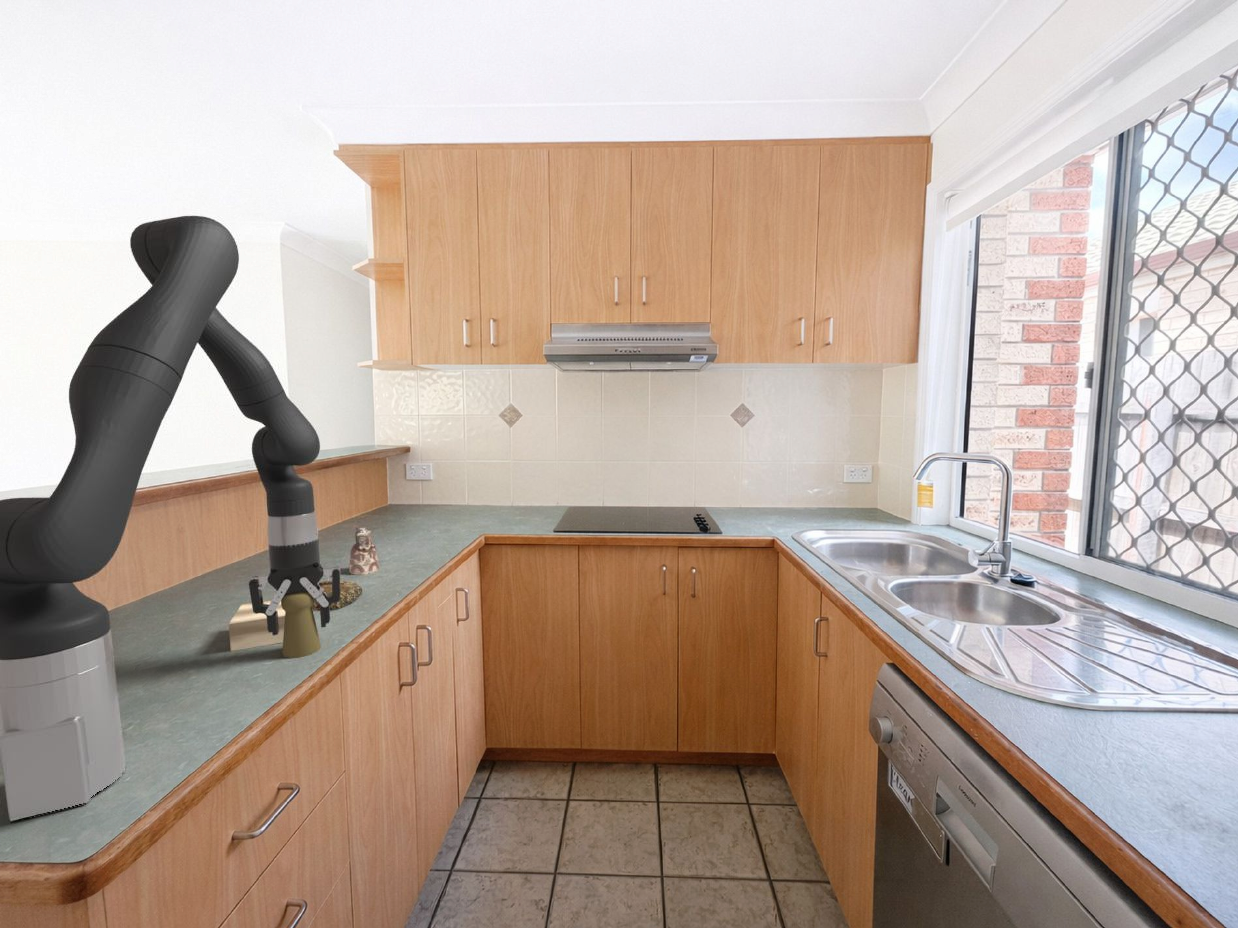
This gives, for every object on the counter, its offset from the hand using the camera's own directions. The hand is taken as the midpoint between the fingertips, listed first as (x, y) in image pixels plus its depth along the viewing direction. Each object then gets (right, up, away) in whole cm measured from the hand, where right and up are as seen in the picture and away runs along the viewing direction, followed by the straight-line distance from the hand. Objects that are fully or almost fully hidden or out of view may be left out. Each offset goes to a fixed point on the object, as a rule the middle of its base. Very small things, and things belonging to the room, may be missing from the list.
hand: (300, 629), depth 94 cm
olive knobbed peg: (0, -4, 0) cm, 4 cm away
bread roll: (-9, -2, +26) cm, 27 cm away
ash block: (-10, -3, +8) cm, 13 cm away
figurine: (-12, 0, +49) cm, 50 cm away
